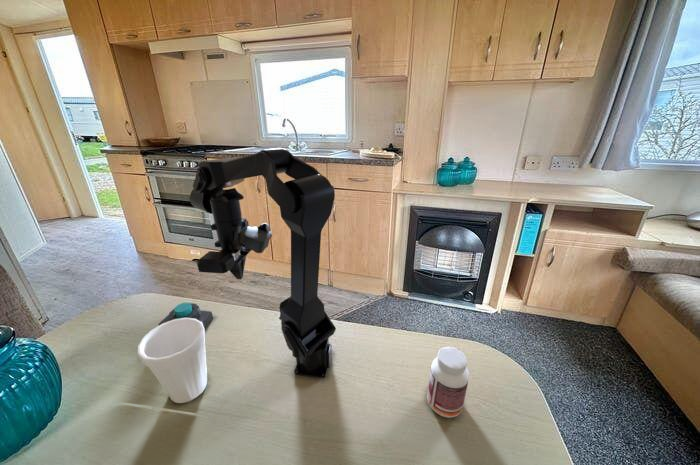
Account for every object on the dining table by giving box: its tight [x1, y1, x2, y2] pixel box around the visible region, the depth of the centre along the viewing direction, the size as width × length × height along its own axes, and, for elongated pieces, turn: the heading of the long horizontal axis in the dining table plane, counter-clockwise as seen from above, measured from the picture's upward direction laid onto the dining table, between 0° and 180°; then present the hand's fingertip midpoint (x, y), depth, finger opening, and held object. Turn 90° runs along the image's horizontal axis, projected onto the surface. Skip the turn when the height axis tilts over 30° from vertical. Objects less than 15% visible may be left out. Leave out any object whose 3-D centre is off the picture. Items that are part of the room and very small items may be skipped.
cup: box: [136, 318, 208, 404], centre depth 50 cm, size 10×10×13 cm
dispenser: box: [157, 302, 214, 329], centre depth 68 cm, size 10×6×4 cm, turn 82°
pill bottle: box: [427, 346, 470, 419], centre depth 48 cm, size 6×6×11 cm
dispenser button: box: [173, 302, 193, 318], centre depth 67 cm, size 4×4×2 cm
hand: (239, 278), depth 67 cm, fingers closed
